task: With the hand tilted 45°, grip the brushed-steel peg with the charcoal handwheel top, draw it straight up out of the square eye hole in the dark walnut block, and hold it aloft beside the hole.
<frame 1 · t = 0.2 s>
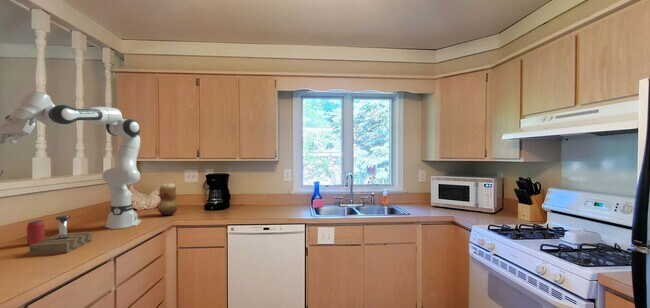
hand: (6, 143, 132), 53 cm above the counter, tool tilted 25°, fingers open, 8 cm apart
steel peg: (63, 232, 143), in the walnut eye block
beer can: (35, 244, 149), on the counter
butternut squash: (168, 215, 220), on the counter
walnut eye block: (63, 247, 143), on the counter
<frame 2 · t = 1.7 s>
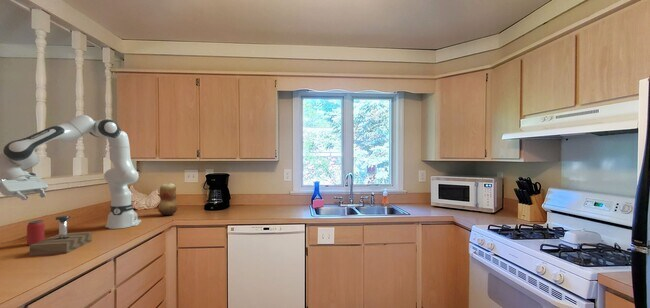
hand: (35, 197, 142), 26 cm above the counter, tool tilted 45°, fingers open, 8 cm apart
nothing on the counter moved.
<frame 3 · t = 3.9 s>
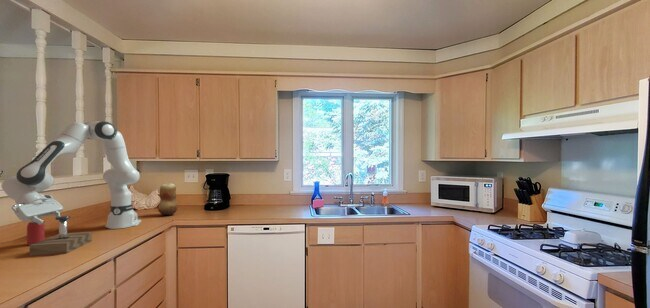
hand: (51, 221, 143), 14 cm above the counter, tool tilted 45°, fingers open, 8 cm apart
nothing on the counter moved.
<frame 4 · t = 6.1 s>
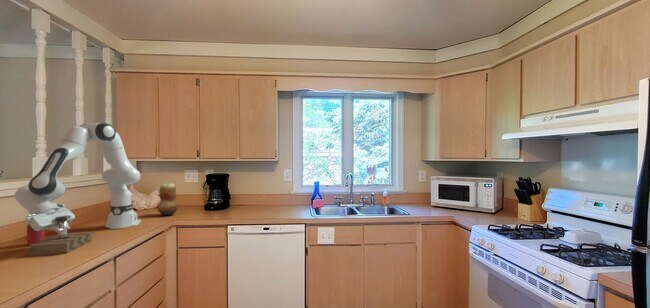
hand: (64, 230, 143), 9 cm above the counter, tool tilted 45°, fingers closed on steel peg, 3 cm apart
steel peg: (63, 232, 143), in the walnut eye block, touching gripper
everything else where it was.
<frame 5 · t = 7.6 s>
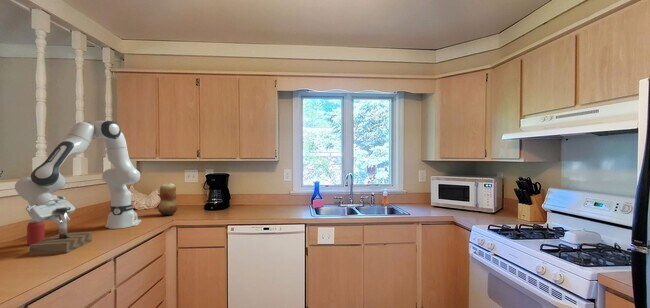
hand: (64, 222, 143), 13 cm above the counter, tool tilted 45°, fingers closed on steel peg, 3 cm apart
steel peg: (63, 223, 143), point 12 cm above the counter, touching gripper
everything else where it was.
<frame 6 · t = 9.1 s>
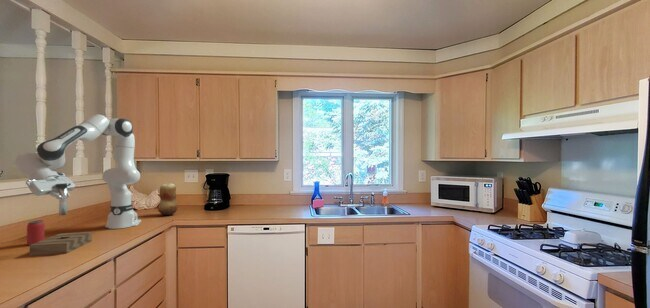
hand: (64, 197, 143), 26 cm above the counter, tool tilted 45°, fingers closed on steel peg, 3 cm apart
steel peg: (63, 199, 143), point 25 cm above the counter, touching gripper
everything else where it was.
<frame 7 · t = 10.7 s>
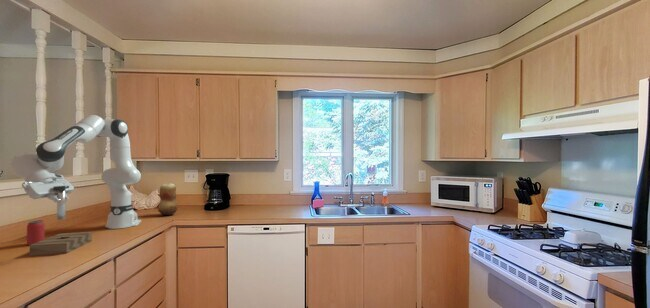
hand: (62, 200, 136), 25 cm above the counter, tool tilted 45°, fingers closed on steel peg, 3 cm apart
steel peg: (61, 202, 136), point 24 cm above the counter, touching gripper
everything else where it was.
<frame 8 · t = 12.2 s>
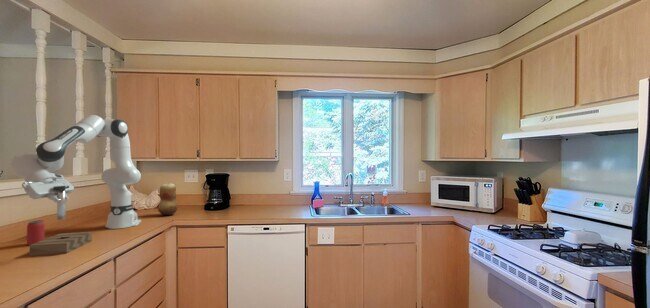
hand: (62, 200, 136), 25 cm above the counter, tool tilted 45°, fingers closed on steel peg, 3 cm apart
steel peg: (61, 202, 136), point 24 cm above the counter, touching gripper
everything else where it was.
at the end: the gripper is holding steel peg; steel peg inside the target area (0.8 cm from its centre), point 24.4 cm above the counter; steel peg tilted 0° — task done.
